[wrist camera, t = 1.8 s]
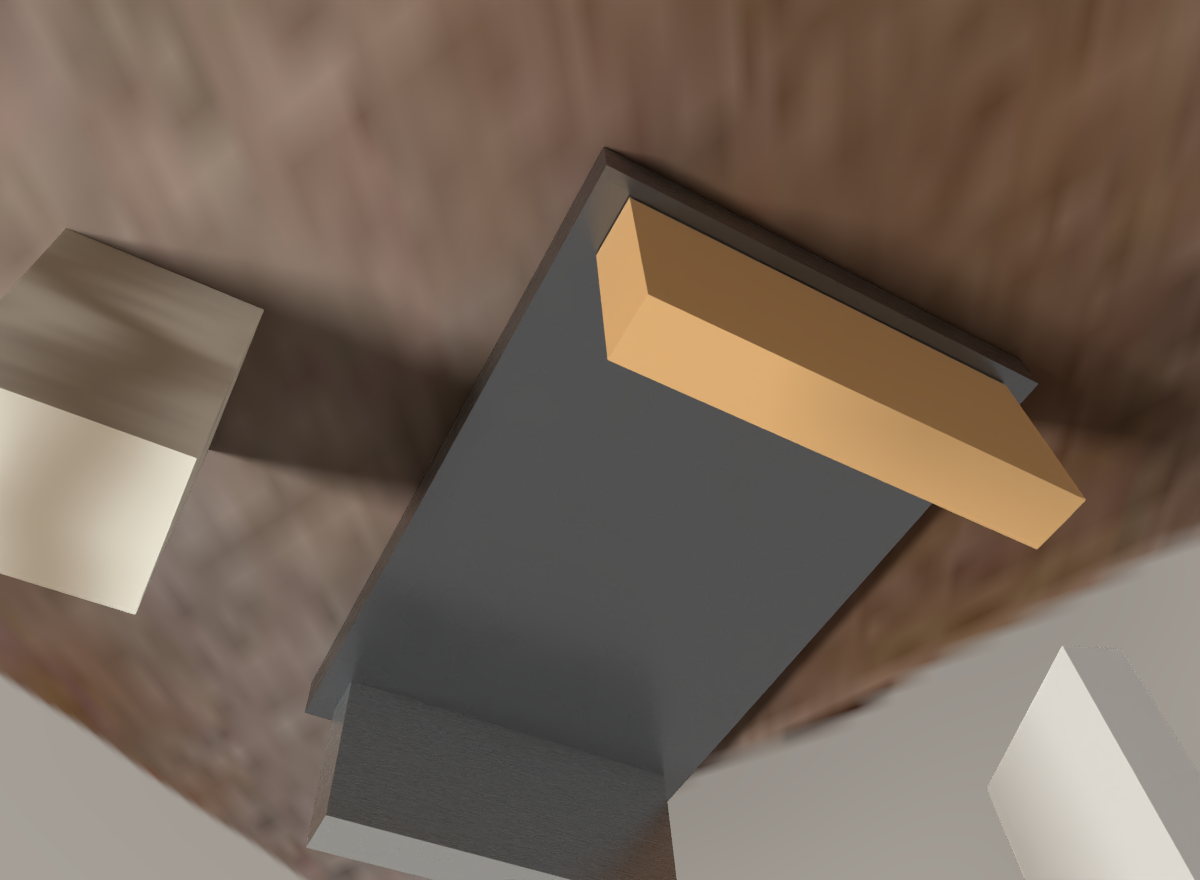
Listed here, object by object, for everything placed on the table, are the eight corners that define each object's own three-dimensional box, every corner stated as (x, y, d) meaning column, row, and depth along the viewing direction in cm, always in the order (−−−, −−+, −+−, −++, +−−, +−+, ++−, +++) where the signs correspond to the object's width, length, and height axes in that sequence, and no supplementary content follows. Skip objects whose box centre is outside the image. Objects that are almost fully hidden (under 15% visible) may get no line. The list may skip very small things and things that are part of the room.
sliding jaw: (596, 255, 30) (607, 359, 26) (629, 197, 29) (647, 294, 25) (966, 430, 35) (1037, 549, 30) (1006, 385, 34) (1086, 499, 29)
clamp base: (311, 683, 42) (273, 848, 36) (603, 146, 30) (620, 257, 24) (652, 786, 47) (669, 947, 41) (1021, 360, 35) (1123, 497, 29)
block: (24, 382, 34) (-99, 543, 27) (66, 228, 31) (-60, 366, 24) (208, 449, 36) (135, 614, 29) (264, 309, 33) (196, 458, 26)
